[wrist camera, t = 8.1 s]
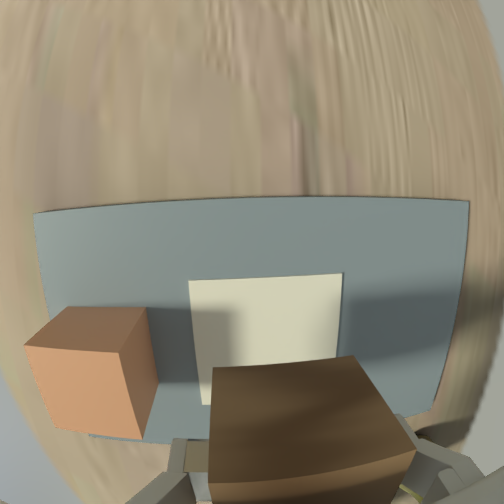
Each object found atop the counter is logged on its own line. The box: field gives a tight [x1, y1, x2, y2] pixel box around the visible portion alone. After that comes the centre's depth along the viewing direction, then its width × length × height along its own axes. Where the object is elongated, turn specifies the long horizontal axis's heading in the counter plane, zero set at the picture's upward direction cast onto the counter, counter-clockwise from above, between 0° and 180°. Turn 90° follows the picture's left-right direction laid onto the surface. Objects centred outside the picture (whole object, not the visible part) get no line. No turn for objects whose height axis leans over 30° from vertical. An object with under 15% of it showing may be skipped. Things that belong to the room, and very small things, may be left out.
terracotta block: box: [24, 306, 159, 440], centre depth 14 cm, size 5×5×5 cm
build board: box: [33, 196, 469, 444], centre depth 18 cm, size 26×16×1 cm, turn 91°
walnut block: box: [208, 355, 417, 504], centre depth 9 cm, size 5×5×5 cm
